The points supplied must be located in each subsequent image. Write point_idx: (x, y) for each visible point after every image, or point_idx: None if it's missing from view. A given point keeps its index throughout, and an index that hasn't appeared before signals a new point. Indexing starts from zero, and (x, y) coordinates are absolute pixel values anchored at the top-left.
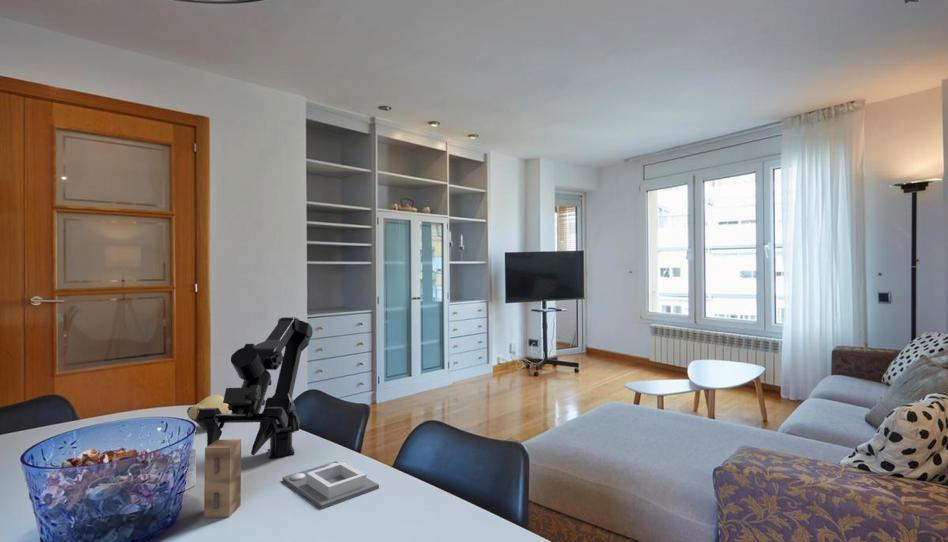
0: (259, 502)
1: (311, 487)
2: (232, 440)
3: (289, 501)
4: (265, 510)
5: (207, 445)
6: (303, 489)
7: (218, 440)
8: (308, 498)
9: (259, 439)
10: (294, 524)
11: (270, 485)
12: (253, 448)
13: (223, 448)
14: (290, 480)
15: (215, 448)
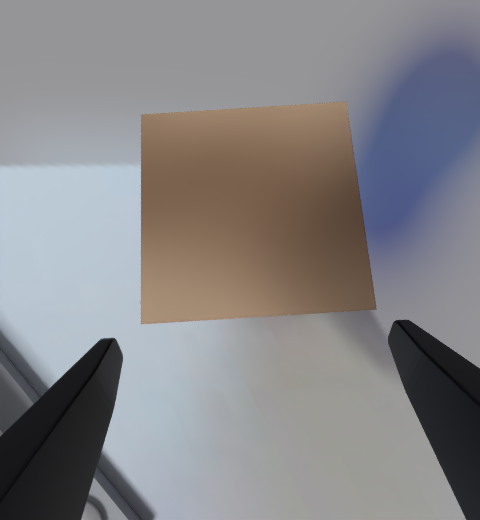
0: (161, 338)
1: (3, 431)
2: (210, 285)
3: (67, 346)
4: (122, 286)
5: (460, 356)
6: None
7: (350, 288)
8: (7, 360)
9: (17, 420)
10: (16, 211)
11: (177, 478)
12: (90, 356)
13: (195, 113)
14: (99, 500)
15: (261, 112)
